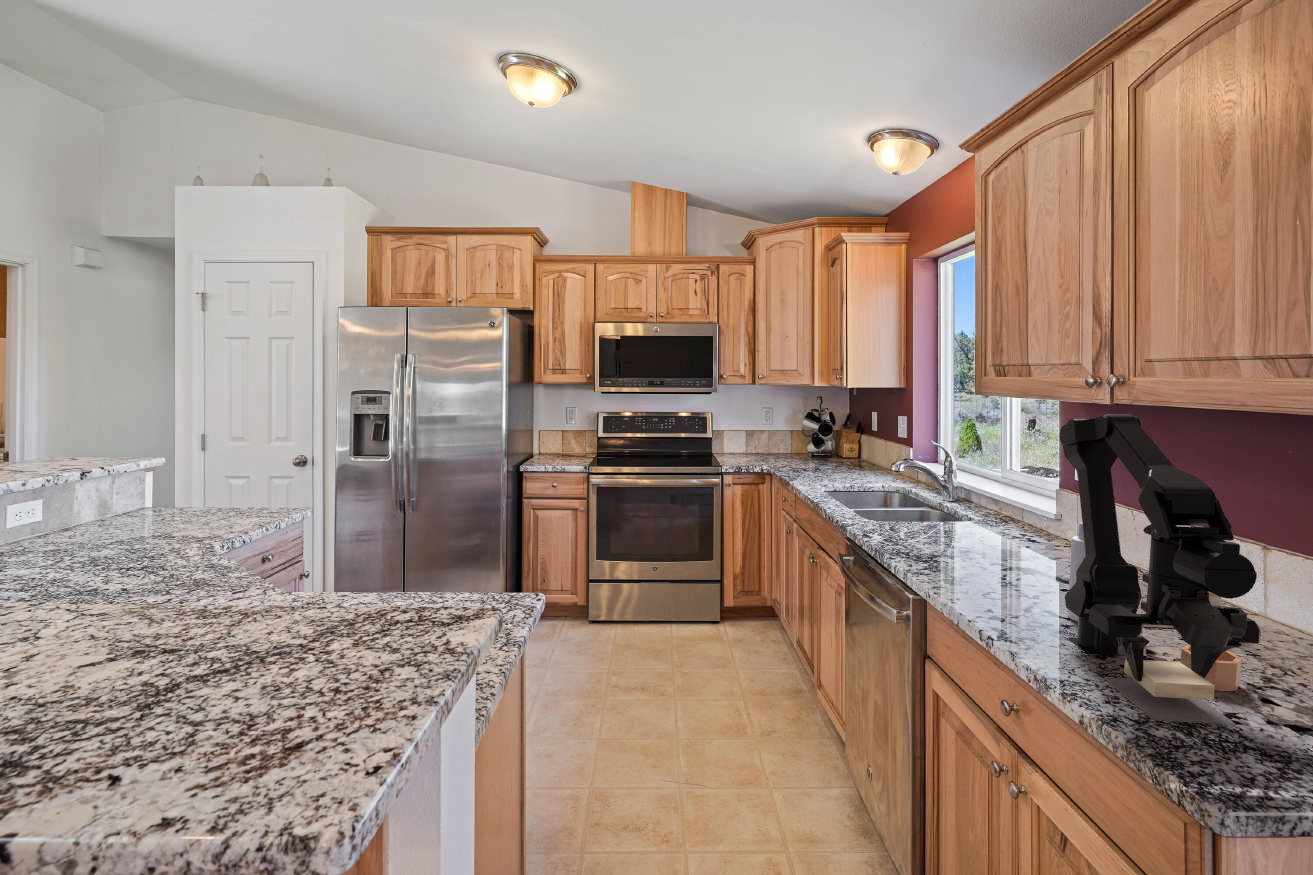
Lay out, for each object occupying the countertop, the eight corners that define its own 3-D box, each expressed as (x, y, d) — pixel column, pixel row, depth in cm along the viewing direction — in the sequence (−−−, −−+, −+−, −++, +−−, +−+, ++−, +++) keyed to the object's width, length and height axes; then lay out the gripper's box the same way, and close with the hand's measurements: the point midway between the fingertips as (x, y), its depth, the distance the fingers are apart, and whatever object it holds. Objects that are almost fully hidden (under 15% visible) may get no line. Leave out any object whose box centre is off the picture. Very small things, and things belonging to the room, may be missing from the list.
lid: (1124, 672, 94) (1125, 659, 94) (1178, 674, 93) (1179, 661, 93) (1154, 696, 87) (1155, 682, 87) (1213, 699, 86) (1214, 685, 86)
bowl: (1171, 673, 100) (1173, 643, 99) (1217, 675, 99) (1219, 645, 99) (1199, 693, 94) (1202, 661, 93) (1249, 695, 93) (1251, 663, 92)
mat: (1103, 680, 97) (1103, 677, 97) (1176, 684, 96) (1176, 681, 96) (1152, 723, 86) (1152, 719, 86) (1236, 728, 84) (1236, 724, 84)
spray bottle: (1062, 619, 122) (1068, 504, 120) (1073, 611, 126) (1079, 500, 124) (1100, 628, 117) (1107, 509, 115) (1109, 619, 121) (1116, 505, 119)
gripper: (1135, 590, 82) (1127, 706, 84) (1300, 596, 80) (1289, 716, 81) (1089, 564, 93) (1083, 668, 95) (1233, 569, 91) (1225, 675, 92)
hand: (1167, 681), depth 90 cm, fingers closed on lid, 7 cm apart
